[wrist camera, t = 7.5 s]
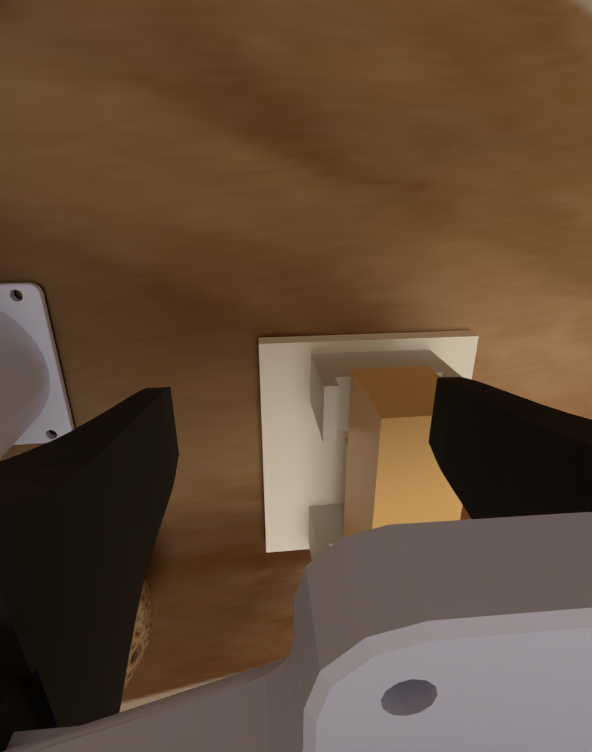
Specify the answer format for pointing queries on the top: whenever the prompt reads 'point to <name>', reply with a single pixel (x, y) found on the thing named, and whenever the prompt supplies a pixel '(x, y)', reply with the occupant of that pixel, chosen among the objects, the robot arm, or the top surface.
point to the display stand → (327, 421)
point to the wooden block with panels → (393, 452)
